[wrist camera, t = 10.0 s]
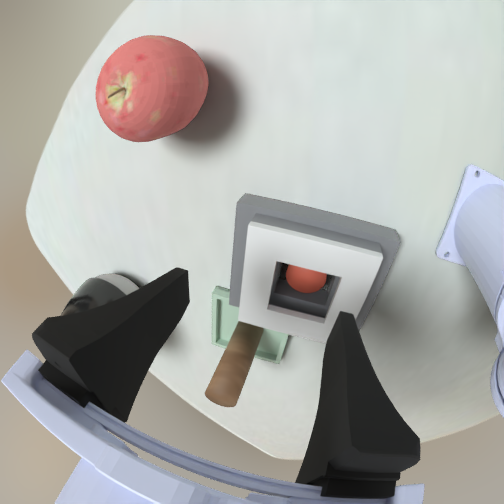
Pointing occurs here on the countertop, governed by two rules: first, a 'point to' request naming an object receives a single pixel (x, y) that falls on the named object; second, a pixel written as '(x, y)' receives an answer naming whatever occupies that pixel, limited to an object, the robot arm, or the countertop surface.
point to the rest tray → (227, 322)
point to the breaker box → (305, 265)
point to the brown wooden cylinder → (234, 365)
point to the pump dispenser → (99, 292)
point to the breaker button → (305, 279)
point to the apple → (151, 88)
